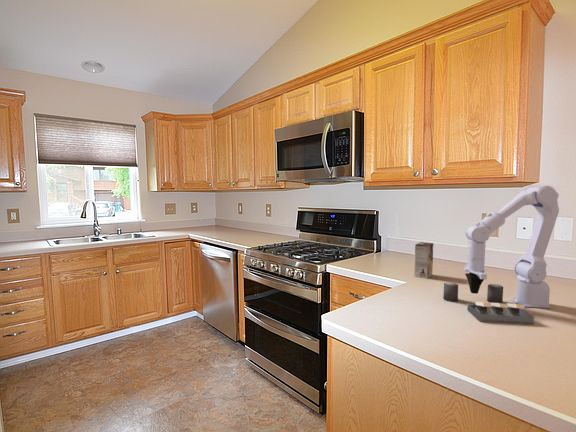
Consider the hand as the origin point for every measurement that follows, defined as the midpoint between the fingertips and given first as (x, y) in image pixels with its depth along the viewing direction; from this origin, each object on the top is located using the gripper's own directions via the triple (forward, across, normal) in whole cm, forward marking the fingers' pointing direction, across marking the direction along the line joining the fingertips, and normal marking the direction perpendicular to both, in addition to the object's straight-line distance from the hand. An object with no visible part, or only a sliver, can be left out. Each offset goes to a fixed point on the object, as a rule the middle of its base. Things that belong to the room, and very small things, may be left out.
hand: (474, 292), depth 125 cm
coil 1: (+3, -1, -8) cm, 9 cm away
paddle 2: (-1, +15, +7) cm, 16 cm away
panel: (+3, +15, +2) cm, 15 cm away
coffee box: (+4, -36, -9) cm, 38 cm away
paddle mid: (-1, +15, +2) cm, 15 cm away
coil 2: (+3, -1, +8) cm, 9 cm away
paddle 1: (-1, +15, -3) cm, 15 cm away
